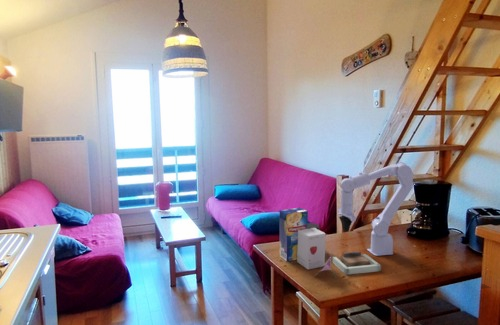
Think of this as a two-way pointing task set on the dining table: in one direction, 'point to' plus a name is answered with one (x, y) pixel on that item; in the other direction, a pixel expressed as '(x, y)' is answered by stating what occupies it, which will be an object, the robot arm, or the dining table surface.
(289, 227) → the beverage box
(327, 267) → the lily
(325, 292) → the dining table surface
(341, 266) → the bay
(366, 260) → the cart
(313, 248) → the supplement box
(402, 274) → the dining table surface
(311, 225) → the jar
